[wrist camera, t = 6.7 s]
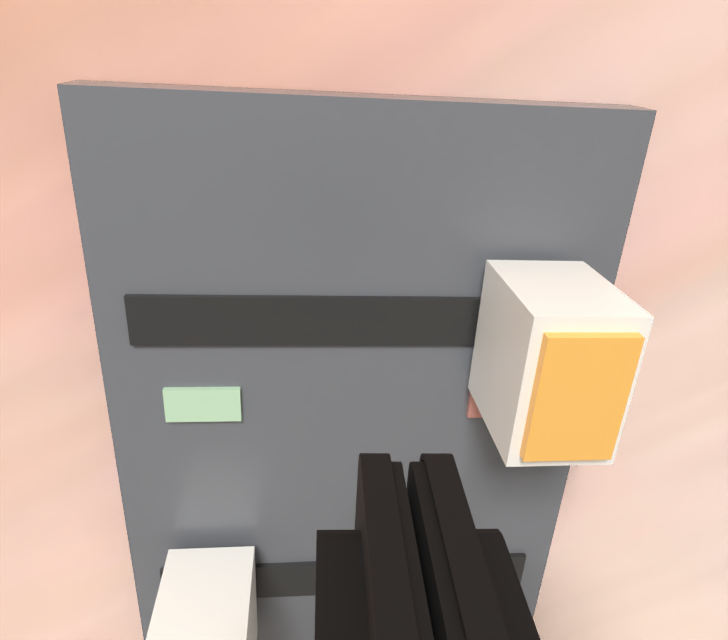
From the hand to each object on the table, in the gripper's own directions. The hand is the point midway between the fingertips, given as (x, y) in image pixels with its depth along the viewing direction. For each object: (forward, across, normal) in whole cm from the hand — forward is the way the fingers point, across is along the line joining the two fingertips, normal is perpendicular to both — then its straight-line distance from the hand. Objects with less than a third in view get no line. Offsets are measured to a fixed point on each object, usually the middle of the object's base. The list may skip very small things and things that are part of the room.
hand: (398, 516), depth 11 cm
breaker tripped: (+8, -5, 0) cm, 10 cm away
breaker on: (+8, +5, +11) cm, 14 cm away
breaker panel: (+10, 0, +6) cm, 12 cm away
